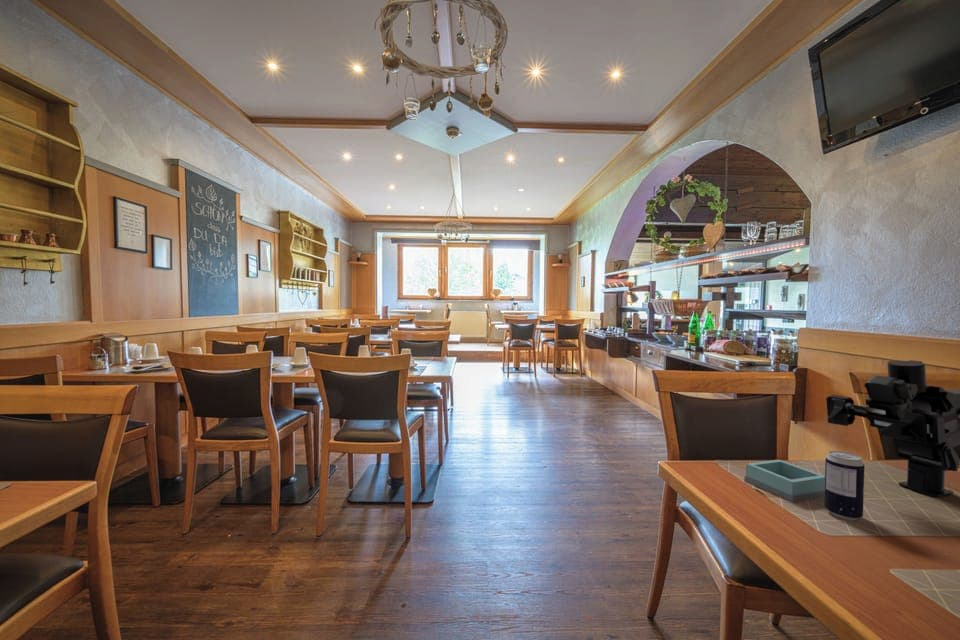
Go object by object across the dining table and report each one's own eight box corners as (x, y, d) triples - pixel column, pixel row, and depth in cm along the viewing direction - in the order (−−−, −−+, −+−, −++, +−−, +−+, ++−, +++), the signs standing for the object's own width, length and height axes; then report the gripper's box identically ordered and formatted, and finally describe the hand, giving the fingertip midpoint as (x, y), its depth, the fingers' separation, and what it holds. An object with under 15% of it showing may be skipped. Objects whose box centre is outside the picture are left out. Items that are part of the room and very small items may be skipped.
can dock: (778, 476, 97) (779, 459, 97) (829, 496, 86) (829, 477, 86) (744, 480, 94) (744, 463, 94) (792, 502, 83) (792, 482, 83)
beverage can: (870, 524, 75) (872, 461, 75) (836, 520, 76) (838, 459, 76) (849, 509, 80) (851, 451, 80) (817, 506, 82) (819, 449, 81)
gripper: (847, 368, 95) (802, 381, 91) (960, 381, 77) (911, 398, 73) (851, 413, 96) (806, 428, 91) (963, 436, 78) (915, 456, 73)
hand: (853, 426), depth 82 cm, fingers open, 9 cm apart
